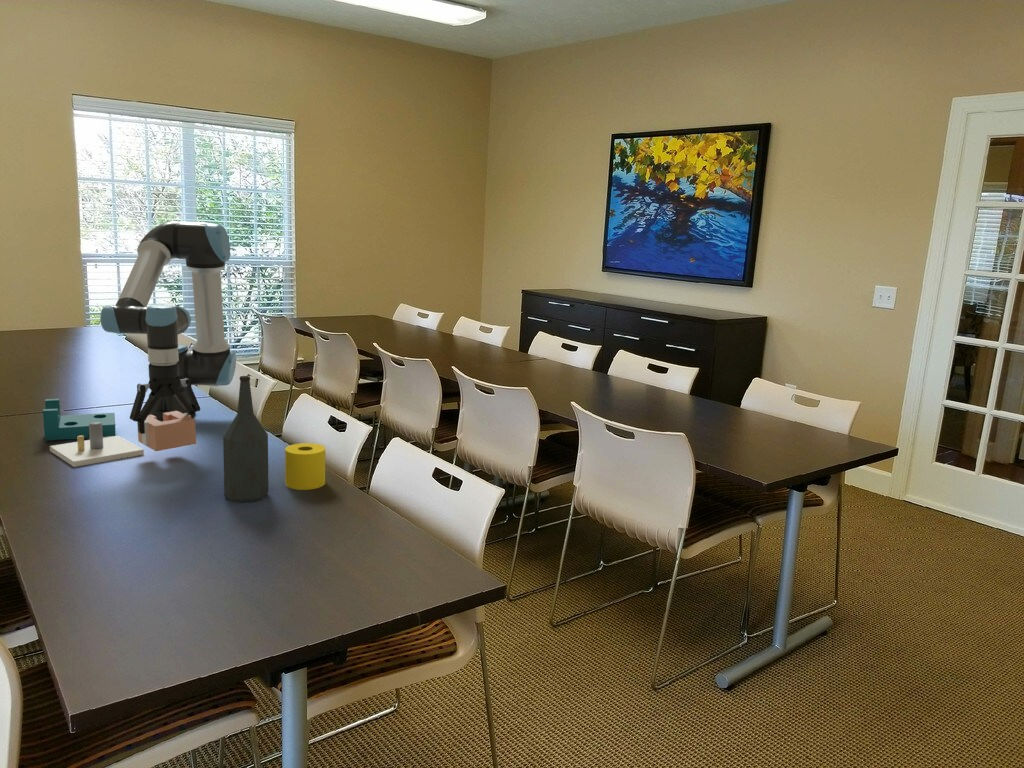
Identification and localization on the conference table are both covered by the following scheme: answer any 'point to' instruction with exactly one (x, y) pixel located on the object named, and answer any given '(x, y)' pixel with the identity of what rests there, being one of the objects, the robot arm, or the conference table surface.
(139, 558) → the conference table surface
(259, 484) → the bottle
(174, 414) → the orange arch block
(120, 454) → the base
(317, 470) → the yellow toilet paper roll
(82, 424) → the teal l-shaped bracket
